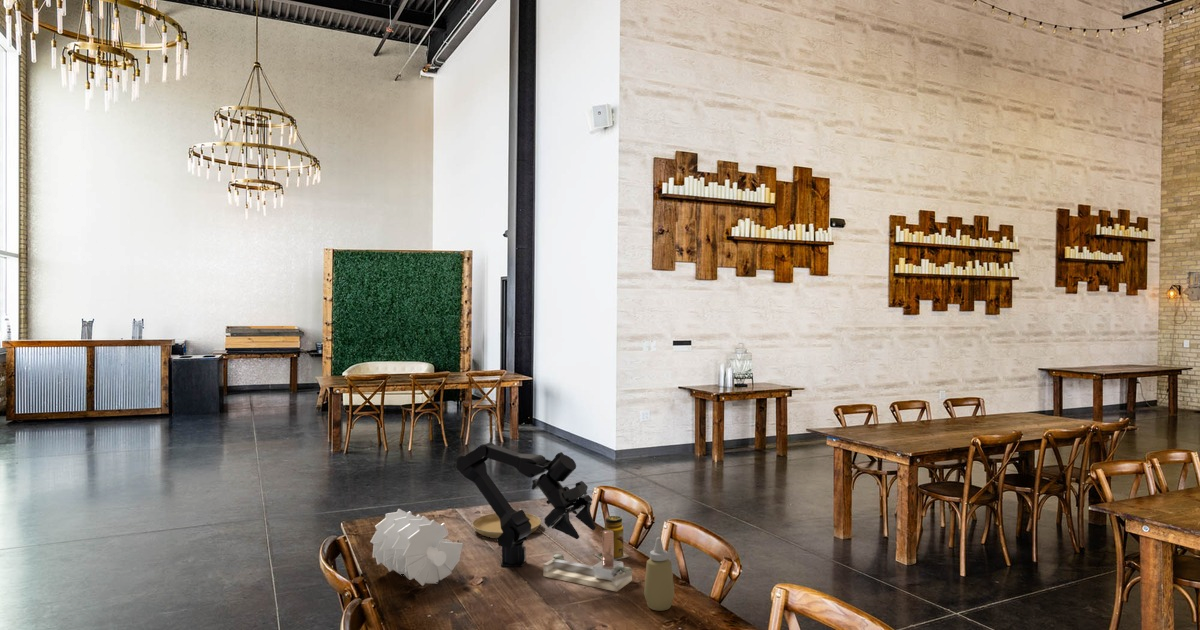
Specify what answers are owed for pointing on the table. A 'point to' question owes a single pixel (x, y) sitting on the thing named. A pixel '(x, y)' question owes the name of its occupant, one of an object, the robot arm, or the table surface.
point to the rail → (584, 574)
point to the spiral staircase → (415, 547)
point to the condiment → (615, 536)
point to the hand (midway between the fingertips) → (586, 533)
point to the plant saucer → (498, 525)
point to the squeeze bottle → (659, 579)
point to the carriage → (607, 558)
